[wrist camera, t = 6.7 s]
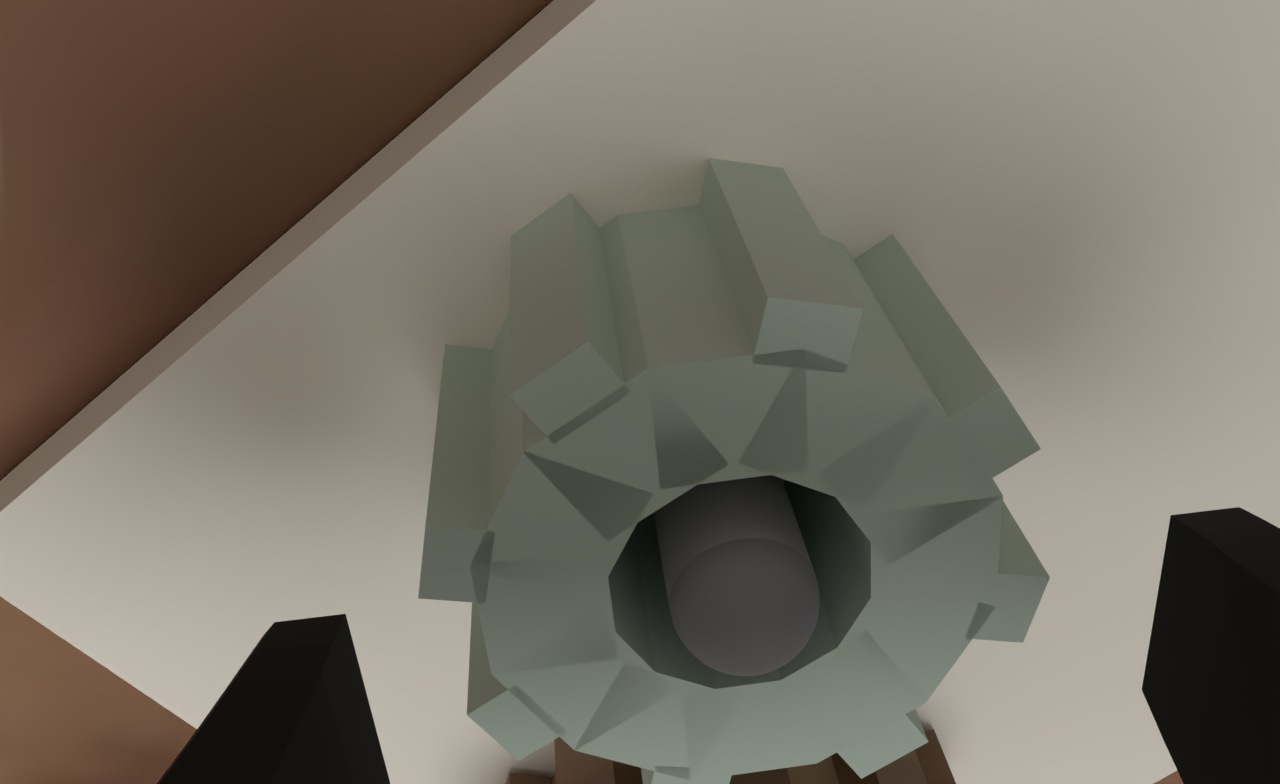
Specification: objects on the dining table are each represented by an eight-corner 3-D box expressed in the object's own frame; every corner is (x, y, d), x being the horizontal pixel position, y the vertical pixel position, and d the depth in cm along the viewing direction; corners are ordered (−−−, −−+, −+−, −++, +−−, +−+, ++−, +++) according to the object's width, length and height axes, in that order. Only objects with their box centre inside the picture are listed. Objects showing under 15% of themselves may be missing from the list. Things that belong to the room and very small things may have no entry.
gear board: (1597, 425, 17) (2005, 699, 13) (666, 971, 22) (709, 1330, 17) (1173, -539, 11) (1655, -713, 6) (-8, 487, 15) (-238, 835, 11)
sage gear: (1024, 434, 15) (1150, 620, 12) (636, 669, 16) (663, 887, 13) (771, 49, 12) (853, 159, 9) (331, 364, 13) (280, 552, 10)
